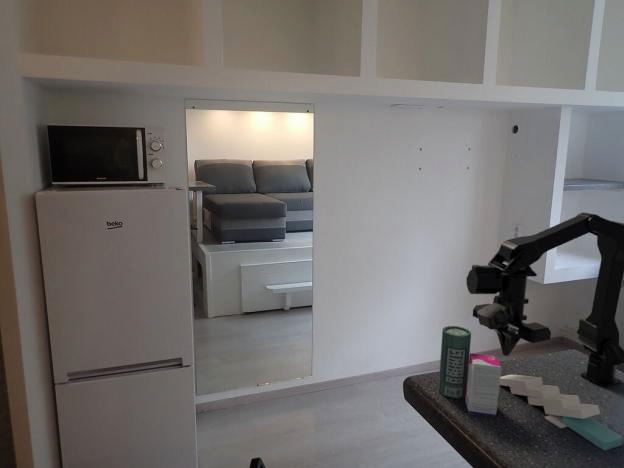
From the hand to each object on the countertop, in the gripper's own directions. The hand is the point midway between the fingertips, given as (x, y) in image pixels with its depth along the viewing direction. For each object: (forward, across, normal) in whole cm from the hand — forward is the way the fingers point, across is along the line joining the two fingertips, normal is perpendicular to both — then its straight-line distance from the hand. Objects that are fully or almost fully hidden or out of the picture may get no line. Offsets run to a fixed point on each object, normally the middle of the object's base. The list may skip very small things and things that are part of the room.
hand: (505, 355), depth 109 cm
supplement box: (+7, +7, -14) cm, 17 cm away
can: (+7, -1, -15) cm, 17 cm away
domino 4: (+6, +14, 0) cm, 15 cm away
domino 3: (+6, +10, 0) cm, 11 cm away
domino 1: (+6, 0, 0) cm, 6 cm away
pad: (+7, +17, 0) cm, 18 cm away
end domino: (+6, +18, 0) cm, 19 cm away
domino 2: (+6, +5, 0) cm, 8 cm away
